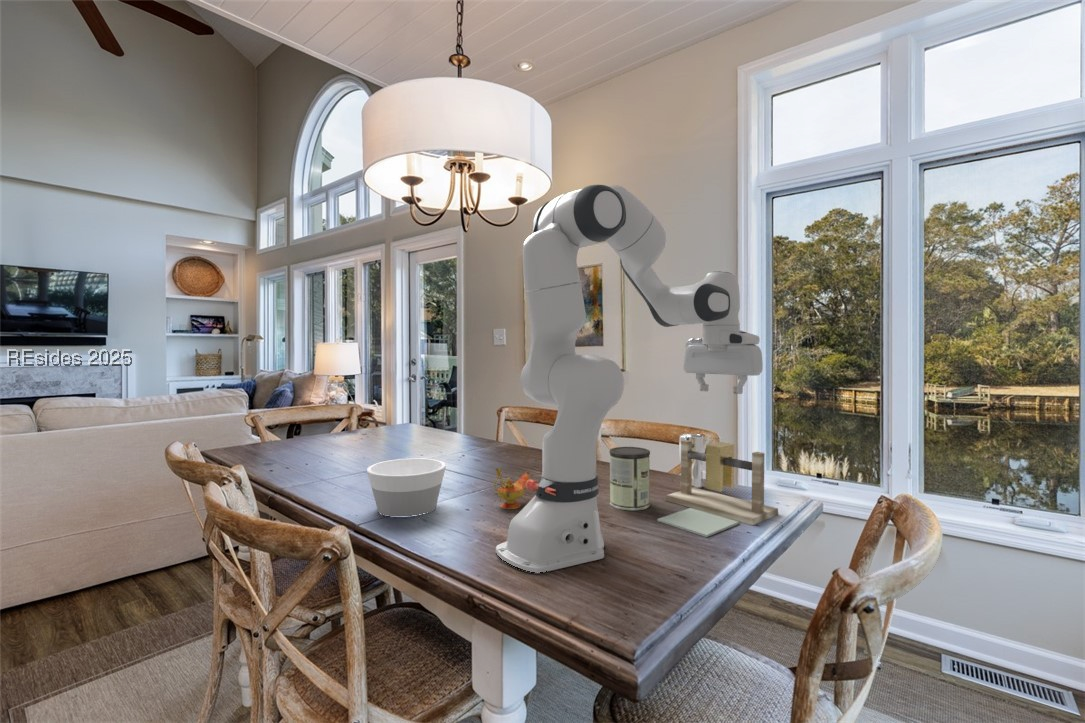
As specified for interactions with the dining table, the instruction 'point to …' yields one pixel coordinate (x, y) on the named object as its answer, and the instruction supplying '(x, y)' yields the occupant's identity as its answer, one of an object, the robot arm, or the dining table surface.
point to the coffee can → (629, 478)
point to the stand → (718, 502)
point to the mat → (698, 522)
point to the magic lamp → (511, 490)
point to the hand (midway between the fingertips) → (720, 392)
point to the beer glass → (696, 464)
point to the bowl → (406, 485)
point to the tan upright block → (719, 466)
